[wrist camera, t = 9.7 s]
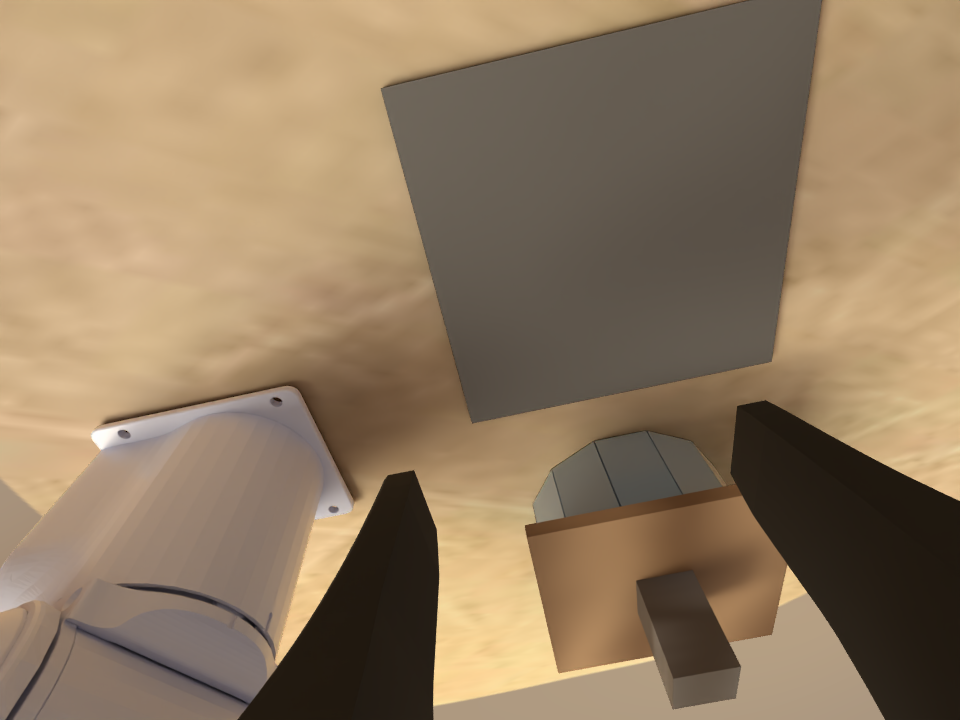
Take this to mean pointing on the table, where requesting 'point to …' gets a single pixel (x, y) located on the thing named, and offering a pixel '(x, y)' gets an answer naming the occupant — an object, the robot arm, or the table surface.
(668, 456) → the bowl
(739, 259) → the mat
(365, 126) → the table surface
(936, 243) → the table surface
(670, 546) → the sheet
